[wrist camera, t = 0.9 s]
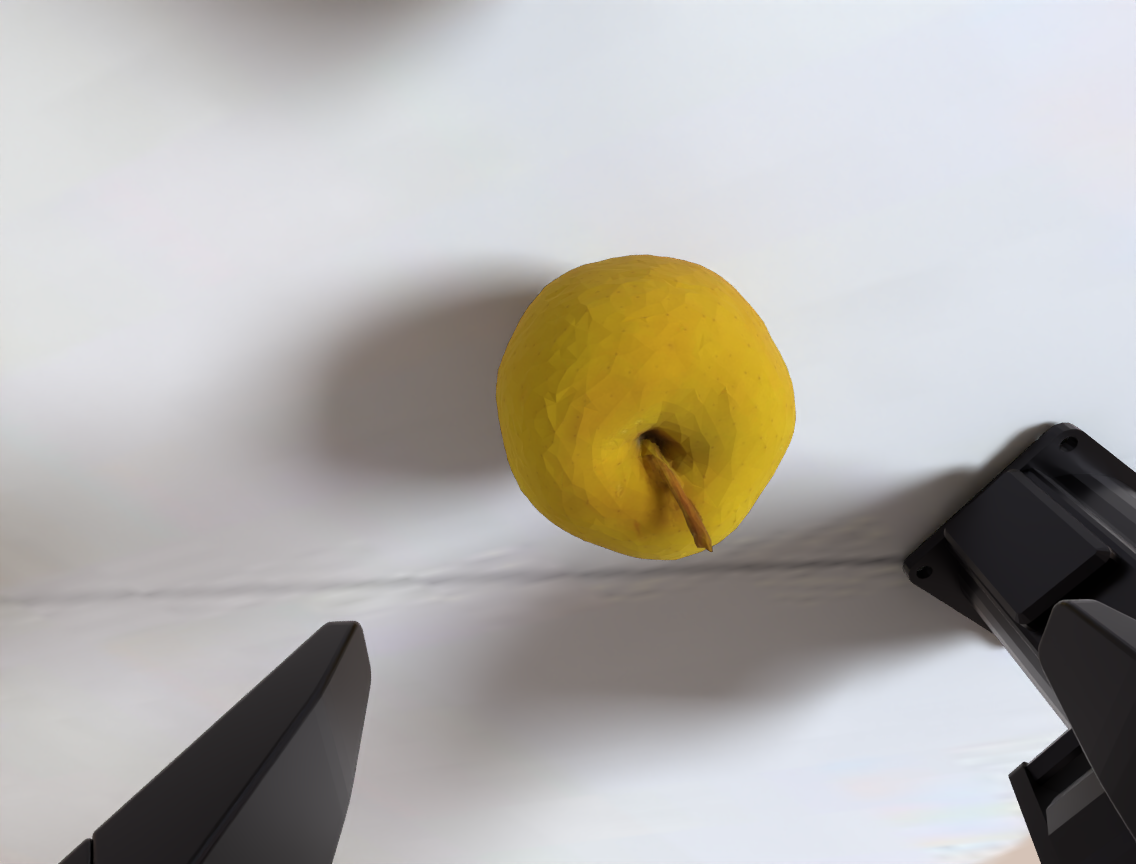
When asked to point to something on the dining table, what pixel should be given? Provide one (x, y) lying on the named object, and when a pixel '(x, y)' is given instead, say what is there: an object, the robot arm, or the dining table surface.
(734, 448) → the apple
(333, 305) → the dining table surface
